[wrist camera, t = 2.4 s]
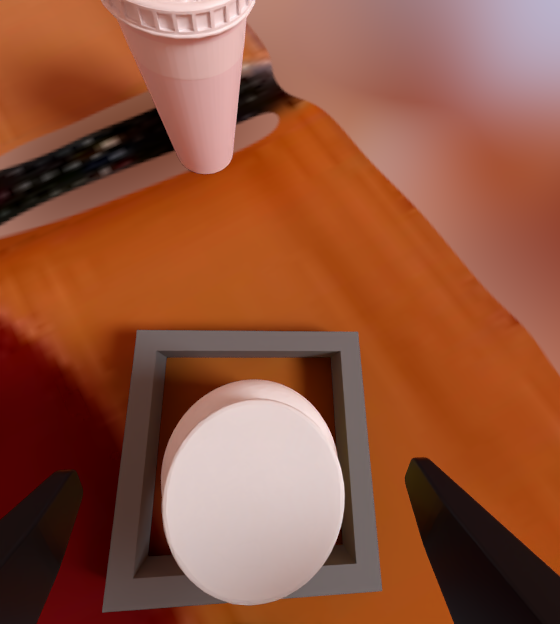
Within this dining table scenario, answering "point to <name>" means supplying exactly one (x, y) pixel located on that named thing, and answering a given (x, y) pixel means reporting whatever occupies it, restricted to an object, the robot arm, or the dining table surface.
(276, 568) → the supplement bottle
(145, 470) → the frame
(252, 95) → the dining table surface
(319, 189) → the dining table surface
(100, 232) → the dining table surface
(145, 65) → the smoothie
